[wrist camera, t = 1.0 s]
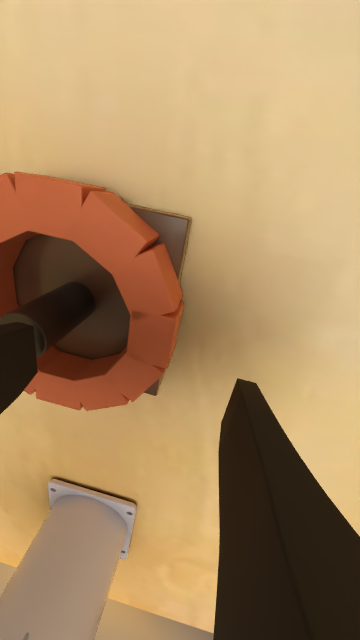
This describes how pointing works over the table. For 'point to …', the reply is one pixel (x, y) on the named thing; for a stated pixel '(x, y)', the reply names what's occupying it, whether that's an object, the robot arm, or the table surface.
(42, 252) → the stand
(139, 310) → the ring
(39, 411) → the table surface
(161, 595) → the table surface
